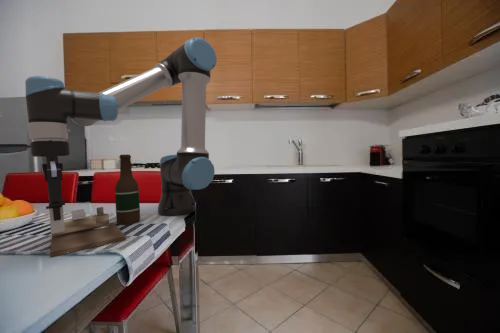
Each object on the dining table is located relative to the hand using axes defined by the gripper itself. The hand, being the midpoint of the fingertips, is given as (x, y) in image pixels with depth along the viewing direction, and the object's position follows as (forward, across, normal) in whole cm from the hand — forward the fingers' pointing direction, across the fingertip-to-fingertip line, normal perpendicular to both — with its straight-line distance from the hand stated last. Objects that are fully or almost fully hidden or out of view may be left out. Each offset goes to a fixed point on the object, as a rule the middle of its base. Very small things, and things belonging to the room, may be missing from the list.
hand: (58, 231), depth 62 cm
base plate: (+4, +3, -6) cm, 8 cm away
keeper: (+3, +8, -8) cm, 12 cm away
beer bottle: (+5, +12, -20) cm, 24 cm away
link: (+2, +8, -6) cm, 10 cm away
